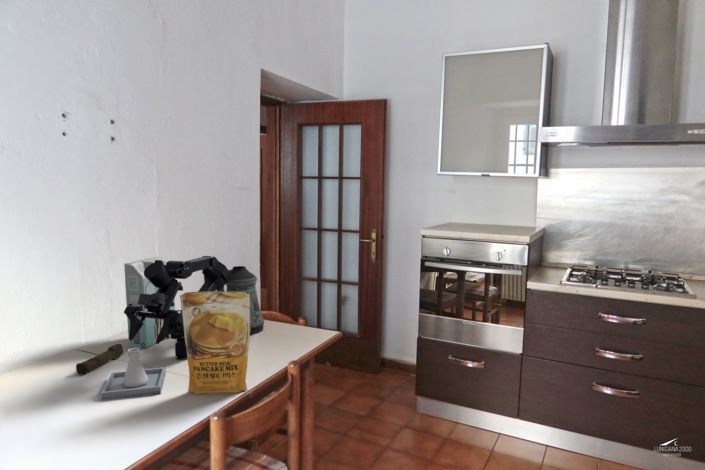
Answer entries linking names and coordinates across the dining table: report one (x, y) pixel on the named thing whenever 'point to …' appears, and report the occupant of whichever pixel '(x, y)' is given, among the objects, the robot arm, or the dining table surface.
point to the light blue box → (135, 287)
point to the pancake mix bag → (217, 340)
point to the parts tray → (117, 390)
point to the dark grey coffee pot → (246, 282)
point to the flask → (134, 370)
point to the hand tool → (100, 359)
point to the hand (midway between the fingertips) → (143, 341)
